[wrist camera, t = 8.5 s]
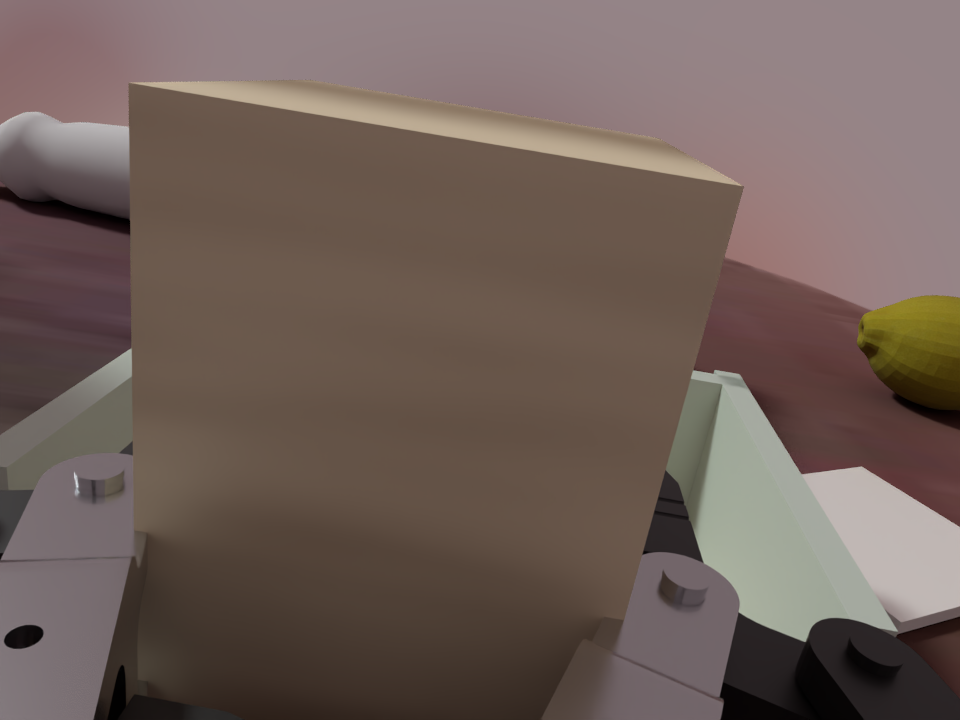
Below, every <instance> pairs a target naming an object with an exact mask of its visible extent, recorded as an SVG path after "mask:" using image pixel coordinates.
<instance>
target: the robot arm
mask: <svg viewBox="0 0 960 720" xmlns="http://www.w3.org/2000/svg"><path fill="white" fill-rule="evenodd" d="M147 570H148V548H147V533H146V532H141V531H135V530H134V504H133V441H132V442H131V443H130V444H129V445H128V446H126V447H125V448H124V449H123V450H122V451H121V452H120V453H97V454H88V455H83V456H78V457H75V458H71V459H68V460H66V461H63V462H61V463H59V464H57V465H55V466H53V467H51V468H50V469H48V470H47V471H46V472H45V473H44V474H43V475H42V476H41V478H40V479H39V481H38V483H37V485H36V487H35V489H34V490H0V720H245V719H242V718H240V717H238V716H236V715H233V714H231V713H229V712H226V711H221V710H216V709H210V708H205V707H200V706H194V705H189V704H184V703H179V702H173V701H168V700H163V699H157V698H152V697H148V681H142V680H138V656H137V642H138V624H139V614H140V606H141V600H142V595H143V590H144V585H145V580H146V575H147ZM739 607H740V601H739V596H738V594H737V592H736V590H735V589H734V587H733V586H732V585H731V583H730V582H729V581H728V580H727V579H726V578H725V577H724V576H722V575H721V574H720V573H719V572H717V571H716V570H714V569H713V568H711V567H710V566H708V565H706V564H704V562H703V559H702V556H701V553H700V549H699V546H698V543H697V540H696V537H695V534H694V530H693V527H692V524H691V521H689V515H688V512H687V508H686V505H684V499H683V496H682V493H681V489H680V486H679V483H678V482H677V481H676V480H675V479H674V478H673V477H672V476H671V475H670V474H669V473H668V472H667V471H666V470H665V474H664V478H663V481H662V485H661V488H660V492H659V496H658V499H657V503H656V506H655V510H654V514H653V517H652V521H651V525H650V528H649V532H648V535H647V539H646V543H645V546H644V550H643V554H642V557H641V561H640V564H639V568H638V572H637V575H636V579H635V583H634V586H633V590H632V593H631V597H630V601H629V604H628V608H627V611H626V615H625V619H624V620H620V619H614V618H609V617H604V618H603V620H602V622H601V624H600V626H599V628H598V630H597V632H596V635H595V637H594V639H593V641H592V642H591V641H589V640H587V639H583V641H582V642H581V643H580V645H579V647H578V648H577V650H576V652H575V654H574V656H573V658H572V660H571V662H570V664H569V666H568V668H567V670H566V671H565V673H564V675H563V677H562V679H561V681H560V683H559V685H558V687H557V689H556V691H555V693H554V695H553V697H552V698H551V700H550V702H549V704H548V706H547V708H546V710H545V712H544V714H543V716H542V718H541V720H960V699H959V697H958V696H957V695H956V694H955V693H954V692H953V691H952V690H951V689H950V688H949V687H948V685H947V684H946V683H945V682H944V681H943V680H942V679H941V678H940V677H939V676H938V675H937V674H936V672H935V671H934V670H933V669H932V668H931V667H930V666H929V665H928V664H927V663H926V662H925V661H924V659H922V658H921V657H920V656H919V655H918V654H917V653H916V652H915V651H914V650H913V649H911V648H910V647H909V646H908V645H906V644H905V643H903V642H902V641H901V640H899V639H898V638H896V637H894V636H892V635H891V634H889V633H887V632H885V631H883V630H881V629H879V628H877V627H874V626H871V625H869V624H866V623H863V622H859V621H856V620H851V619H846V618H827V619H823V620H820V621H818V622H816V623H815V624H814V625H813V626H812V628H811V630H810V632H809V634H808V637H807V639H806V642H804V641H801V640H799V639H796V638H794V637H791V636H788V635H786V634H783V633H781V632H778V631H776V630H773V629H771V628H768V627H766V626H763V625H761V624H759V623H757V622H755V621H753V620H751V619H749V618H747V617H746V616H744V615H742V614H741V613H739Z"/></svg>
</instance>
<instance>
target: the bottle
mask: <svg viewBox="0 0 960 720" xmlns="http://www.w3.org/2000/svg"><path fill="white" fill-rule="evenodd" d="M0 181H1V182H2V183H3V184H4V185H5V186H6V187H7V188H9V189H10V190H11V191H12V192H13V193H15V194H16V195H17V196H18V197H19V198H22V199H25V200H28V201H32V202H46V201H52V200H60V201H62V202H65V203H67V204H70V205H72V206H75V207H78V208H82V209H86V210H90V211H95V212H99V213H103V214H107V215H112V216H116V217H120V218H124V219H129V220H130V165H129V127H125V126H115V125H106V124H96V123H87V122H81V123H65V124H63V123H62V122H60V121H58V120H56V119H54V118H52V117H50V116H47V115H45V114H42V113H40V112H24V113H22V114H20V115H18V116H15V117H13V118H11V119H9V120H8V121H6V122H5V123H3V124H1V125H0Z"/></svg>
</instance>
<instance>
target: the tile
mask: <svg viewBox="0 0 960 720" xmlns="http://www.w3.org/2000/svg"><path fill="white" fill-rule="evenodd" d="M802 476H803V478H804V480H805V481H806V483H807V485H808V486H809V488H810V489H811V491H812V493H813V494H814V496H815V498H816V499H817V501H818V502H819V504H820V506H821V507H822V509H823V510H824V512H825V514H826V515H827V517H828V519H829V520H830V522H831V523H832V525H833V527H834V528H835V530H836V532H837V533H838V535H839V536H840V538H841V540H842V541H843V543H844V545H845V546H846V548H847V549H848V551H849V553H850V554H851V556H852V558H853V559H854V561H855V562H856V564H857V566H858V567H859V569H860V570H861V572H862V574H863V575H864V577H865V579H866V580H867V582H868V583H869V585H870V587H871V588H872V590H873V592H874V593H875V595H876V596H877V598H878V600H879V601H880V603H881V605H882V606H883V608H884V609H885V611H886V613H887V614H888V616H889V617H890V619H891V621H892V622H893V624H894V626H895V627H896V629H897V630H898V634H900V633H903V632H907V631H910V630H914V629H918V628H921V627H925V626H928V625H932V624H935V623H939V622H942V621H946V620H949V619H953V618H956V617H960V527H959V526H957V525H955V524H954V523H952V522H950V521H949V520H947V519H946V518H944V517H942V516H941V515H939V514H937V513H936V512H934V511H933V510H931V509H929V508H928V507H926V506H924V505H923V504H921V503H920V502H918V501H916V500H915V499H913V498H911V497H910V496H908V495H907V494H905V493H903V492H902V491H900V490H898V489H897V488H895V487H894V486H892V485H890V484H889V483H887V482H885V481H884V480H882V479H881V478H879V477H877V476H876V475H874V474H873V473H871V472H869V471H868V470H866V469H864V468H863V467H856V468H849V469H841V470H833V471H826V472H818V473H810V474H803V475H802Z"/></svg>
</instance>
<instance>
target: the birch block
mask: <svg viewBox="0 0 960 720" xmlns="http://www.w3.org/2000/svg"><path fill="white" fill-rule="evenodd" d="M129 165H130V250H131V334H132V419H133V504H134V530H135V531H141V532H146V533H147V548H148V570H147V575H146V580H145V585H144V590H143V595H142V600H141V606H140V614H139V624H138V642H137V656H138V680H142V681H148V697H152V698H157V699H163V700H168V701H173V702H179V703H184V704H189V705H194V706H200V707H205V708H210V709H216V710H221V711H226V712H229V713H231V714H233V715H236V716H238V717H240V718H242V719H245V720H541V718H542V716H543V714H544V712H545V710H546V708H547V706H548V704H549V702H550V700H551V698H552V697H553V695H554V693H555V691H556V689H557V687H558V685H559V683H560V681H561V679H562V677H563V675H564V673H565V671H566V670H567V668H568V666H569V664H570V662H571V660H572V658H573V656H574V654H575V652H576V650H577V648H578V647H579V645H580V643H581V642H582V641H583V639H587V640H589V641H591V642H592V641H593V639H594V637H595V635H596V632H597V630H598V628H599V626H600V624H601V622H602V620H603V618H604V617H609V618H614V619H620V620H624V619H625V615H626V611H627V608H628V604H629V601H630V597H631V593H632V590H633V586H634V583H635V579H636V575H637V572H638V568H639V564H640V561H641V557H642V554H643V550H644V546H645V543H646V539H647V535H648V532H649V528H650V525H651V521H652V517H653V514H654V510H655V506H656V503H657V499H658V496H659V492H660V488H661V485H662V481H663V478H664V474H665V470H666V467H667V463H668V459H669V456H670V452H671V449H672V445H673V441H674V438H675V434H676V430H677V427H678V423H679V420H680V416H681V412H682V409H683V405H684V402H685V398H686V394H687V391H688V387H689V383H690V380H691V376H692V373H693V369H694V365H695V362H696V358H697V354H698V351H699V347H700V344H701V340H702V336H703V333H704V329H705V326H706V322H707V318H708V315H709V311H710V307H711V304H712V300H713V297H714V293H715V289H716V286H717V282H718V278H719V275H720V271H721V268H722V264H723V260H724V257H725V253H726V249H727V246H728V242H729V239H730V235H731V231H732V227H733V224H734V220H735V217H736V213H737V209H738V206H739V202H740V199H741V195H742V192H743V188H744V186H742V185H741V184H739V183H737V182H735V181H733V180H732V179H730V178H728V177H726V176H725V175H723V174H721V173H719V172H717V171H716V170H714V169H712V168H710V167H708V166H707V165H705V164H703V163H702V162H700V161H698V160H696V159H694V158H693V157H691V156H689V155H687V154H686V153H684V152H682V151H680V150H678V149H677V148H675V147H673V146H671V145H669V144H668V143H666V142H664V141H663V140H661V139H659V138H654V137H648V136H642V135H635V134H630V133H624V132H618V131H612V130H606V129H600V128H594V127H588V126H582V125H576V124H570V123H564V122H558V121H552V120H545V119H540V118H534V117H528V116H522V115H516V114H510V113H504V112H498V111H492V110H486V109H480V108H474V107H468V106H462V105H456V104H450V103H444V102H439V101H433V100H427V99H421V98H415V97H409V96H403V95H396V94H390V93H385V92H378V91H373V90H367V89H360V88H355V87H348V86H343V85H337V84H330V83H325V82H319V81H313V80H281V81H280V80H279V81H212V82H211V81H210V82H146V83H145V82H143V83H129Z"/></svg>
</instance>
